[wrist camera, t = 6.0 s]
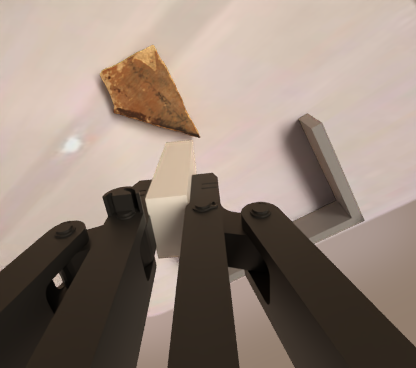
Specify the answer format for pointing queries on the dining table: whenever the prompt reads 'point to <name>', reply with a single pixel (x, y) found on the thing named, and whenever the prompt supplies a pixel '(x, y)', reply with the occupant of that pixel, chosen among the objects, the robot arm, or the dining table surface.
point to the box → (345, 202)
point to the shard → (147, 92)
